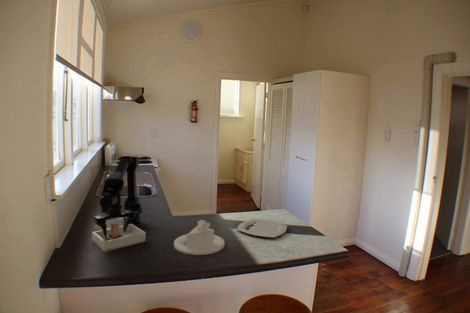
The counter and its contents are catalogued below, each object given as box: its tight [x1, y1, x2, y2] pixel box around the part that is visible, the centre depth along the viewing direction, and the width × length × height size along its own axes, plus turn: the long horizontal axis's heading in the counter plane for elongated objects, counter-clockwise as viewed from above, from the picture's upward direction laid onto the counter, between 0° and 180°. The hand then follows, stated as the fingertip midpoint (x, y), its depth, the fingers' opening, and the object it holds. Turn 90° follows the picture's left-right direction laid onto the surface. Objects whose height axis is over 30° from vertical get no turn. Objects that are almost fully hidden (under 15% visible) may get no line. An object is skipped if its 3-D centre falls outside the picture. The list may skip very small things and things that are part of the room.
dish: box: [173, 219, 226, 256], centre depth 148 cm, size 25×25×11 cm
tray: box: [91, 224, 147, 253], centre depth 148 cm, size 20×16×4 cm
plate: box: [236, 218, 288, 239], centre depth 171 cm, size 27×27×2 cm
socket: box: [105, 233, 125, 241], centre depth 146 cm, size 7×7×2 cm
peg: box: [111, 223, 119, 239], centre depth 146 cm, size 4×4×8 cm
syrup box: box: [94, 218, 124, 231], centre depth 165 cm, size 6×6×14 cm
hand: (115, 234), depth 146 cm, fingers open, 9 cm apart
